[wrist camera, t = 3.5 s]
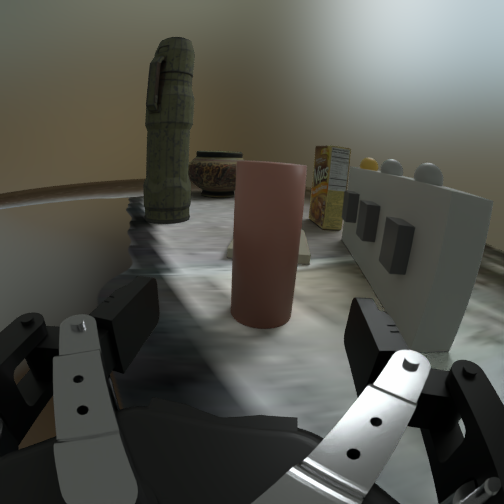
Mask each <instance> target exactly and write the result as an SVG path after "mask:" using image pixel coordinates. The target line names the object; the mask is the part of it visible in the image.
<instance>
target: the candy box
mask: <svg viewBox="0 0 504 504" xmlns="http://www.w3.org/2000/svg"><path fill="white" fill-rule="evenodd" d="M350 153H351V149H349V148H344V147H338V146H316V149H315V162H314V172H313V182H312V192H311V202H310V211H309V219H311V220H312V221H313V222H315V223H316V224H317V225H318V226H320V227H321V229H323V230H341V227H342V220H343V219H342V209H343V200H344V191H345V190H347V182H348V172H349V163H350Z"/></svg>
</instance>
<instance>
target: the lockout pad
mask: <svg viewBox="0 0 504 504" xmlns="http://www.w3.org/2000/svg"><path fill="white" fill-rule="evenodd" d="M310 257H311V255H310V251H309V247H308V243H307V239H306V236H305V232H304V230H301V236H300V246H299V255H298V263H297V264H307V265H310ZM227 258H233V240H232V241H231V243H230V245H229V247H228V250H227Z"/></svg>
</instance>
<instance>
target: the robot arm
mask: <svg viewBox="0 0 504 504" xmlns="http://www.w3.org/2000/svg"><path fill="white" fill-rule="evenodd" d="M159 316H160V310H159V300H158V288H157V281H156V279H155V278H150V277H143V276H137V277H136V278H135V279H134V280H133V281H131V282H130V283H129V284H128V285H127V286H124V287H121V288H119V289H117V290H115V291H114V292H113V293H112V294H111V295H110V297H108V298H107V299H105V300H104V302H102V303H101V304H100V305H99V306H98V307H97V308H96V309H95V310H94V311H93V312H92V313H90V314H89V315H82V314H80V315H74V316H71V317H69V318H67V319H65V320H64V321H63V322H62V323H61V325H60V327H55V326H46V324H45V321H44V318H43V316H42V315H41V314H39V313H27V314H24V315H21V316H20V317H18V318H17V319H15V320H14V321H13V322H12V323H11V324H10V325H8V326H7V327H6V328H5V329H4V330H3V331H2V332H0V504H400V503H398V502H397V501H396V500H395V499H394V498H392V497H391V496H390V495H389V494H387V493H386V492H385V491H384V490H383V489H382V488H380V487H379V486H378V485H377V484H376V483H374V482H375V481H376V479H377V478H378V476H379V475H380V473H381V471H382V470H383V468H384V467H385V465H386V463H387V462H388V460H389V458H390V457H391V455H392V453H393V451H394V450H395V448H396V446H397V444H398V442H399V440H400V439H401V437H402V435H403V433H404V431H405V429H406V427H407V426H410V427H417V428H420V430H421V433H422V436H423V440H424V444H425V447H426V451H427V455H428V459H429V462H430V466H431V471H432V475H433V479H434V484H435V488H436V493H437V498H438V503H439V504H504V405H503V403H502V402H501V400H500V398H499V396H498V395H497V393H496V391H495V389H494V388H493V386H492V384H491V383H490V381H489V379H488V378H487V376H486V375H485V373H484V371H483V370H482V369H481V368H480V367H479V366H478V365H477V364H475V363H473V362H471V361H467V360H458V361H456V362H454V363H453V365H452V367H451V369H450V371H443V370H437V369H432V368H431V365H430V362H429V361H428V359H427V358H426V357H425V356H423V355H422V354H420V353H418V352H416V351H412V350H409V348H408V346H407V344H406V342H405V340H404V339H403V337H402V335H401V333H399V330H398V328H397V327H396V324H395V323H394V321H393V319H392V318H391V317H390V316H389V315H388V314H386V313H385V312H384V311H379V310H378V308H377V306H376V304H375V302H374V300H373V299H372V298H354V299H353V301H352V304H351V308H350V312H349V317H348V321H347V325H346V329H345V334H344V345H345V349H346V353H347V357H348V360H349V364H350V368H351V372H352V376H353V380H354V384H355V388H356V392H357V396H358V399H357V400H356V401H355V403H354V404H353V405H352V406H351V408H350V409H349V410H348V411H347V413H346V414H345V415H344V416H343V418H342V419H341V420H340V421H339V422H338V423H337V425H336V426H335V427H334V428H333V429H332V430H331V432H330V433H329V434H328V435H327V436H326V437H325V438H322V437H320V436H318V435H316V434H314V433H312V432H309V431H306V430H303V429H300V428H297V418H294V417H278V416H265V415H256V416H244V417H228V418H222V417H217V416H215V415H212V414H209V413H207V412H204V411H201V410H199V409H196V408H194V407H191V406H189V405H187V404H182V403H177V402H173V401H168V400H164V399H159V398H155V397H153V398H152V400H151V402H150V404H149V406H137V407H129V408H125V409H121V410H120V409H119V405H118V402H117V398H116V395H115V391H114V387H113V384H112V380H111V377H110V373H111V372H112V371H116V372H120V373H123V374H124V373H125V371H126V370H127V368H128V367H129V365H130V364H131V363H132V361H133V360H134V358H135V357H136V355H137V354H138V352H139V351H140V349H141V348H142V346H143V345H144V343H145V342H146V340H147V339H148V337H149V336H150V335H151V333H152V332H153V330H154V329H155V327H156V326H157V324H158V321H159ZM24 358H25V359H26V361H27V364H28V366H29V368H30V370H29V371H28V373H27V374H26V375H25V376H24V377H23V378H22V379H21V381H20V382H19V383H18V384H17V385H16V383H15V381H14V376H13V375H14V370H15V368H16V367H17V366H18V365H19V364H20V363H21V362H22V361H23V359H24ZM53 395H54V412H55V425H56V434H57V436H55V437H53V438H50V439H47V440H45V441H42V442H40V443H37V444H34V445H31V446H28V447H26V448H22V449H20V450H18V446H19V444H20V443H21V441H22V440H23V438H24V437H25V435H26V434H27V432H28V430H29V429H30V427H31V426H32V424H33V423H34V422H35V420H36V418H37V417H38V416H39V414H40V413H41V411H42V410H43V408H44V407H45V406H46V404H47V403H48V401H49V400H50V398H51V397H52V396H53ZM461 418H462V420H463V423H464V425H465V429H466V433H465V438H464V437H463V434H462V432H461V429H460V426H459V424H458V421H459V420H460V419H461Z"/></svg>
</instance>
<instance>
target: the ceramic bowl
mask: <svg viewBox="0 0 504 504" xmlns="http://www.w3.org/2000/svg"><path fill="white" fill-rule="evenodd" d="M237 161H245V160H244V159H243V158H242V153H241V152H229V151H226V152H225V151H197V156H196V158H195V159H193V160H192V161H191V162H188V176H189V178H190V180H191V181H192V182H193V184H194V185H196V186H197V187H198V188H200V189H202V193H201V194H202V195H204V196H207V197H232V196H234V191H235V186H236V165H237Z"/></svg>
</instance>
